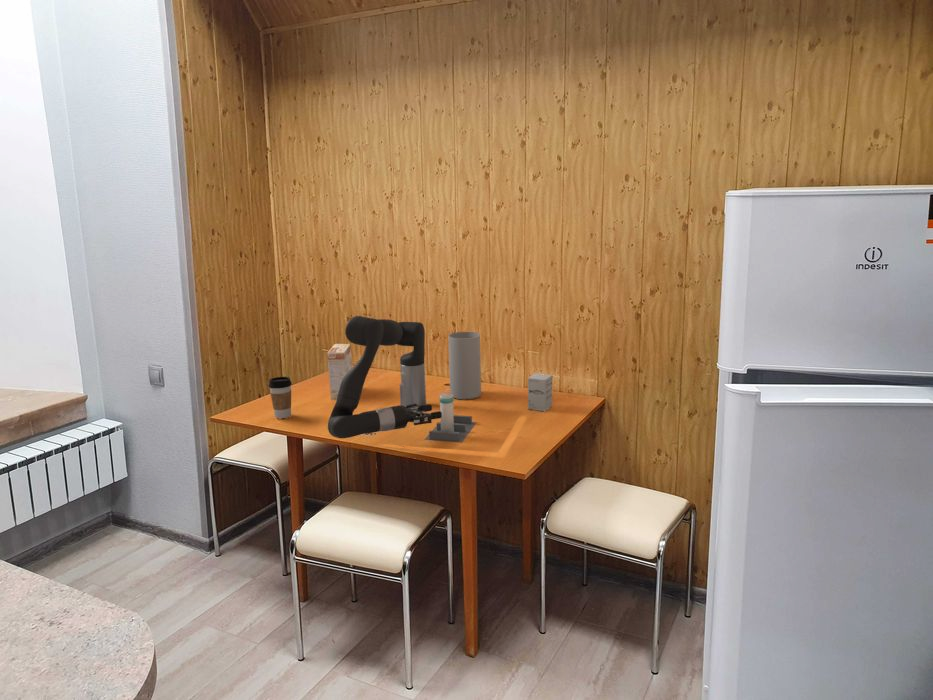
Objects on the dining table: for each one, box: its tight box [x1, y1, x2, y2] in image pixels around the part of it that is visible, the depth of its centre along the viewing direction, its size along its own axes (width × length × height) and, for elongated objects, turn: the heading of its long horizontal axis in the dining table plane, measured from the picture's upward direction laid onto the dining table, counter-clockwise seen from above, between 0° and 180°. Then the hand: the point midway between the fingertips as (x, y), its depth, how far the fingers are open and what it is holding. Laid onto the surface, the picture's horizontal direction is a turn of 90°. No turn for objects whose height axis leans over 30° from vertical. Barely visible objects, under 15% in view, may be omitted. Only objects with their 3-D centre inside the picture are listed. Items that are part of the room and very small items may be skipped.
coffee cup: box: [268, 376, 292, 419], centre depth 272 cm, size 8×8×15 cm
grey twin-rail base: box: [423, 414, 478, 443], centre depth 250 cm, size 13×20×4 cm, turn 165°
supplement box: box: [527, 372, 553, 412], centre depth 274 cm, size 7×7×13 cm
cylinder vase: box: [447, 331, 482, 401], centre depth 290 cm, size 12×12×25 cm
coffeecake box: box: [326, 343, 353, 400], centre depth 298 cm, size 15×7×20 cm, turn 178°
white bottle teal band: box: [439, 392, 455, 432], centre depth 244 cm, size 5×5×14 cm
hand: (436, 410), depth 242 cm, fingers open, 8 cm apart
